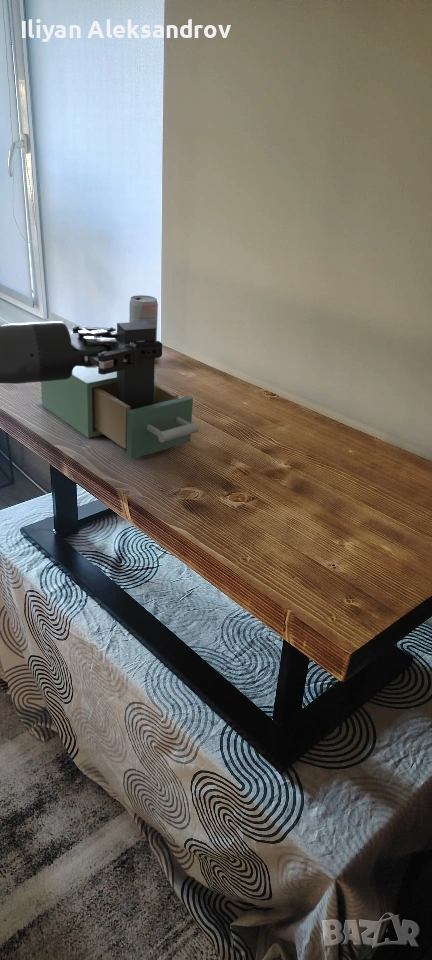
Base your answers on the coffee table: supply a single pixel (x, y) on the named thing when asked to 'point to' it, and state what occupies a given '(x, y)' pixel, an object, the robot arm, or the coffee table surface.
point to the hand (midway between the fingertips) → (155, 344)
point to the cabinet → (75, 397)
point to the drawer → (143, 420)
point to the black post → (138, 380)
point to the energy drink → (144, 310)
